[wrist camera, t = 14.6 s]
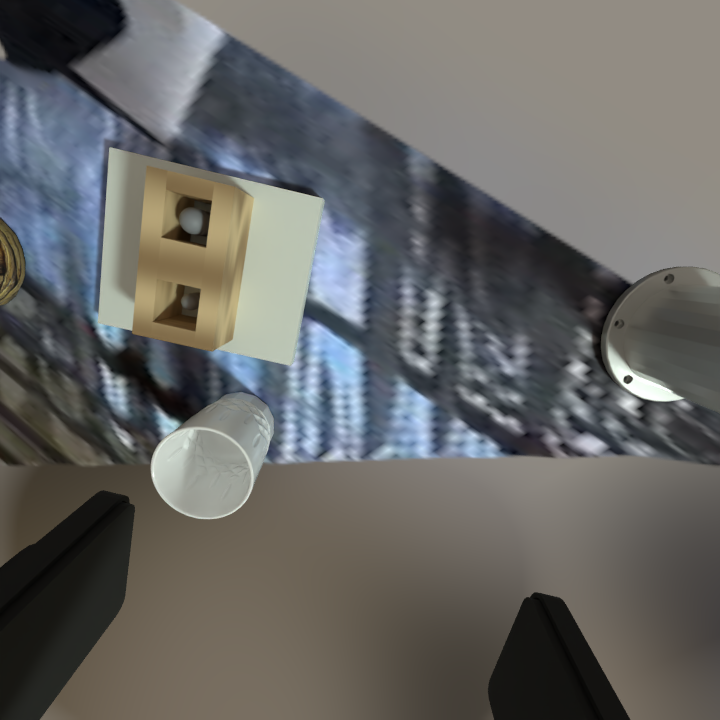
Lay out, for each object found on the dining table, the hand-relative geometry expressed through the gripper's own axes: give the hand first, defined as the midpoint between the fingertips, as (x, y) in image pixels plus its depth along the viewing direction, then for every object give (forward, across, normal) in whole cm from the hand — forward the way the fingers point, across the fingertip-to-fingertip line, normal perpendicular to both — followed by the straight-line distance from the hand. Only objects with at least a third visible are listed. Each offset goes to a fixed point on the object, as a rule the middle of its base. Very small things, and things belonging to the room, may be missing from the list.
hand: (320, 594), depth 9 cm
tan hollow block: (+27, +15, -4) cm, 31 cm away
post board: (+29, +15, -4) cm, 33 cm away
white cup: (+29, +10, +11) cm, 33 cm away
